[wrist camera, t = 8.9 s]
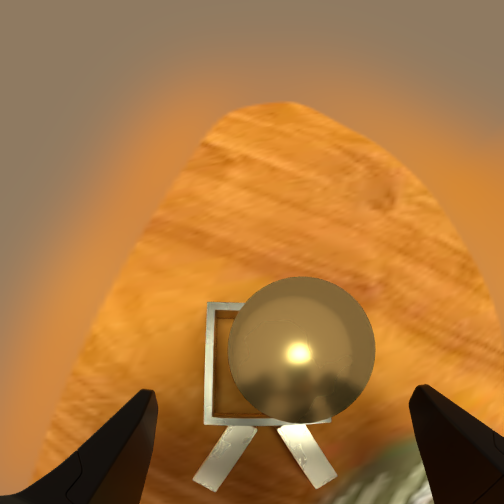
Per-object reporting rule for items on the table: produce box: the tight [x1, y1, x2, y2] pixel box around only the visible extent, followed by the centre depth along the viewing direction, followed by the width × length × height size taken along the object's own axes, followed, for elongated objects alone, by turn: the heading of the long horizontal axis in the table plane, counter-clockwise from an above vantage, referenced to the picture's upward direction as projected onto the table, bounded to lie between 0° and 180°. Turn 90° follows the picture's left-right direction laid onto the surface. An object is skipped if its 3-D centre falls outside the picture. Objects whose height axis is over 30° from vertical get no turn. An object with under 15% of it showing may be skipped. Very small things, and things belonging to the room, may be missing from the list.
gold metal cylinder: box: [228, 277, 375, 424], centre depth 12 cm, size 4×4×11 cm
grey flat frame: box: [192, 302, 338, 492], centre depth 15 cm, size 11×8×2 cm
